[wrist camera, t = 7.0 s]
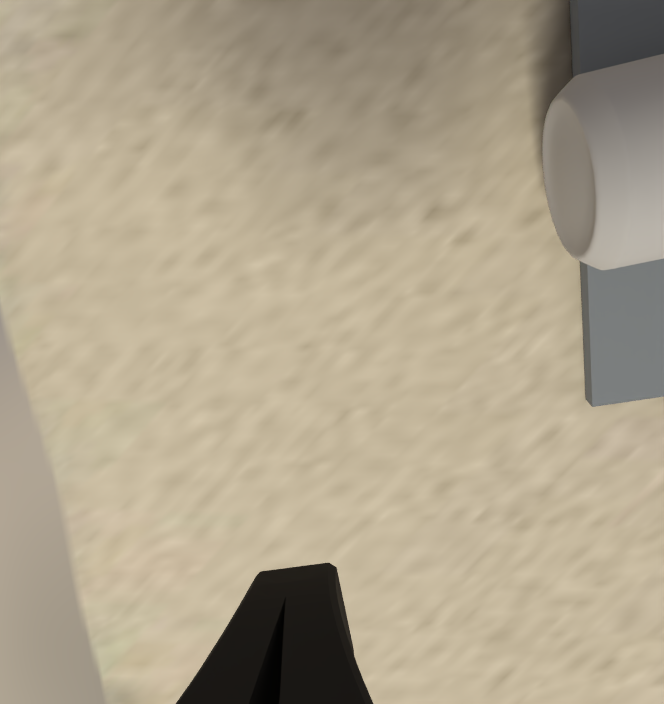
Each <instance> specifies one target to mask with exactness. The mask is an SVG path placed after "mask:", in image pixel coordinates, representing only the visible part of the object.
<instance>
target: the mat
mask: <svg viewBox="0 0 664 704" xmlns="http://www.w3.org/2000/svg"><path fill="white" fill-rule="evenodd" d="M570 20H571V45H572V70H573V78H574V77H575V76H576V75H579V74H583V73H587V72H591V71H595V70H599V69H603V68H607V67H611V66H616V65H620V64H624V63H628V62H632V61H636V60H640V59H644V58H648V57H652V56H656V55H661V54H664V0H570ZM580 270H581V295H582V320H583V345H584V370H585V395H586V400H587V401H588V402H589V404H590V405H591V406H592V407H595V406H602V405H608V404H615V403H622V402H629V401H636V400H643V399H650V398H656V397H663V396H664V259H659V260H654V261H649V262H644V263H639V264H634V265H629V266H624V267H619V268H615V269H609V270H599V269H596V268H594V267H592V266H590V265H587V264H585V263H583V262H581V261H580Z"/></svg>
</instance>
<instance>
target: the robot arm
mask: <svg viewBox="0 0 664 704" xmlns="http://www.w3.org/2000/svg"><path fill="white" fill-rule="evenodd" d="M176 704H373V702H372V700H371V697H370V695H369V693H368V690H367V688H366V686H365V683H364V681H363V678H362V676H361V673H360V671H359V668H358V665H357V663H356V660H355V657H354V650H353V645H352V640H351V635H350V630H349V625H348V621H347V616H346V611H345V606H344V601H343V597H342V592H341V587H340V582H339V577H338V573H337V568H336V567H335V566H333V565H332V564H330V563H323V564H315V565H307V566H300V567H292V568H285V569H277V570H269V571H262V572H260V573H259V574H258V575H257V576H256V577H255V579H254V581H253V583H252V584H251V586H250V588H249V590H248V591H247V593H246V595H245V597H244V598H243V600H242V602H241V603H240V605H239V607H238V609H237V610H236V612H235V614H234V615H233V617H232V619H231V620H230V622H229V624H228V625H227V627H226V629H225V630H224V632H223V634H222V635H221V637H220V638H219V640H218V642H217V643H216V645H215V646H214V648H213V649H212V651H211V653H210V654H209V656H208V657H207V659H206V660H205V662H204V664H203V665H202V667H201V668H200V670H199V671H198V673H197V674H196V676H195V677H194V679H193V680H192V682H191V683H190V685H189V686H188V687H187V689H186V690H185V692H184V693H183V694H182V696H181V697H180V699H179V700H178V701H177V703H176Z"/></svg>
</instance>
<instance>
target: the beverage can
mask: <svg viewBox="0 0 664 704" xmlns="http://www.w3.org/2000/svg"><path fill="white" fill-rule="evenodd" d="M542 162H543V175H544V184H545V190H546V195H547V201H548V206H549V209H550V213H551V217H552V220H553V223H554V226H555V229H556V231H557V234H558V236H559V238H560V240H561V242H562V244H563V246H564V247H565V249H566V250H567V251H568V252H569V254H570V255H571V256H572V257H573V258H575V259H577V260H579V261H581V262H583V263H585V264H587V265H590V266H592V267H594V268H596V269H599V270H609V269H615V268H619V267H624V266H629V265H634V264H639V263H644V262H649V261H654V260H659V259H664V54H661V55H656V56H652V57H648V58H644V59H640V60H636V61H632V62H628V63H624V64H620V65H616V66H611V67H607V68H603V69H599V70H595V71H591V72H587V73H583V74H579V75H576V76H575V77H574V78H572V79H571V80H570V81H569V83H568V84H567V85H566V86H565V87H564V88H563V89H562V90H561V91H560V92H559V93H558V94H557V96H556V97H555V98H554V99H553V101H552V102H551V103H550V106H549V109H548V112H547V114H546V117H545V123H544V129H543V141H542Z"/></svg>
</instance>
